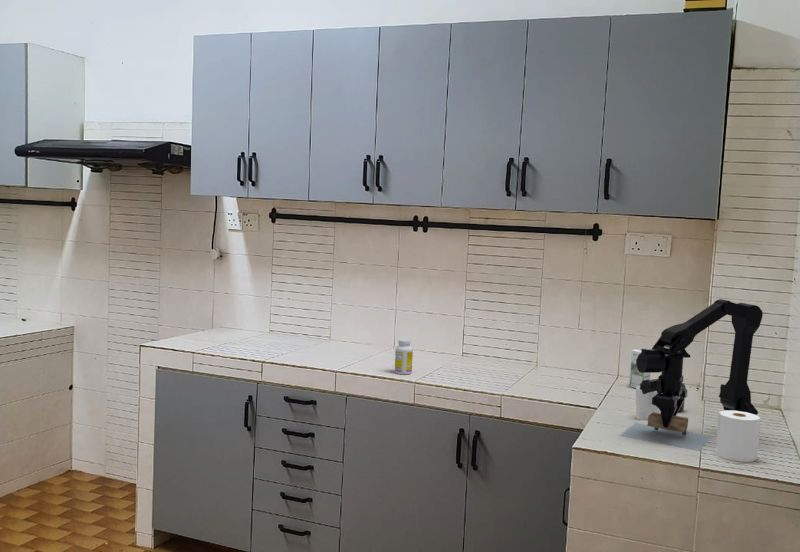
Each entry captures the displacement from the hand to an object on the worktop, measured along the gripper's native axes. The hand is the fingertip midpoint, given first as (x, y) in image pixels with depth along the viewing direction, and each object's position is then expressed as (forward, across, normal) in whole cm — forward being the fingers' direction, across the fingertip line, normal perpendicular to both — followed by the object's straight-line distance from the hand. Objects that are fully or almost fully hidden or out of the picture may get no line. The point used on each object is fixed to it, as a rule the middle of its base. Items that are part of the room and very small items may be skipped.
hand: (667, 424), depth 231 cm
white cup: (+4, -18, -10) cm, 21 cm away
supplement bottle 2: (+4, -37, -6) cm, 37 cm away
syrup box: (+4, -64, -24) cm, 68 cm away
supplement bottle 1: (+4, -24, -104) cm, 107 cm away
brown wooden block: (+1, 0, 0) cm, 1 cm away
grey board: (+4, +1, 0) cm, 4 cm away
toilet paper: (+4, +8, +20) cm, 22 cm away
